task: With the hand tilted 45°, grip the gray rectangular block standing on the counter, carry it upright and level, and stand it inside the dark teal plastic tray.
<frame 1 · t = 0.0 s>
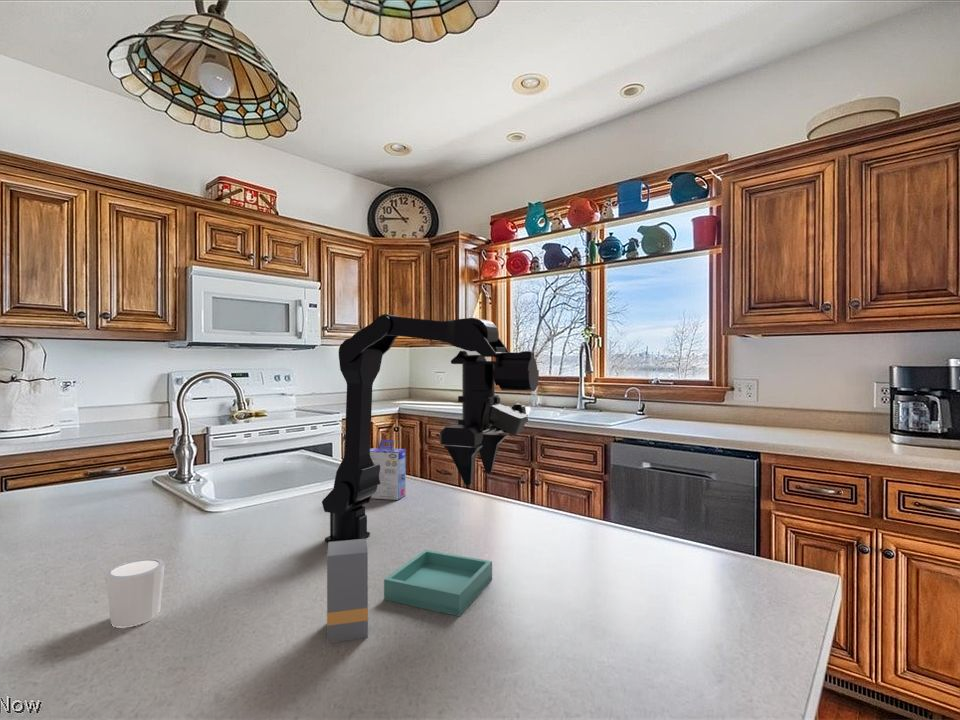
hand: (478, 478, 88), 15 cm above the countertop, tool pointing down, fingers open, 9 cm apart
white cup: (135, 619, 69), on the countertop
tray: (440, 589, 78), on the countertop
gray rectangular block: (347, 629, 66), on the countertop
ink cartridge box: (385, 497, 129), on the countertop
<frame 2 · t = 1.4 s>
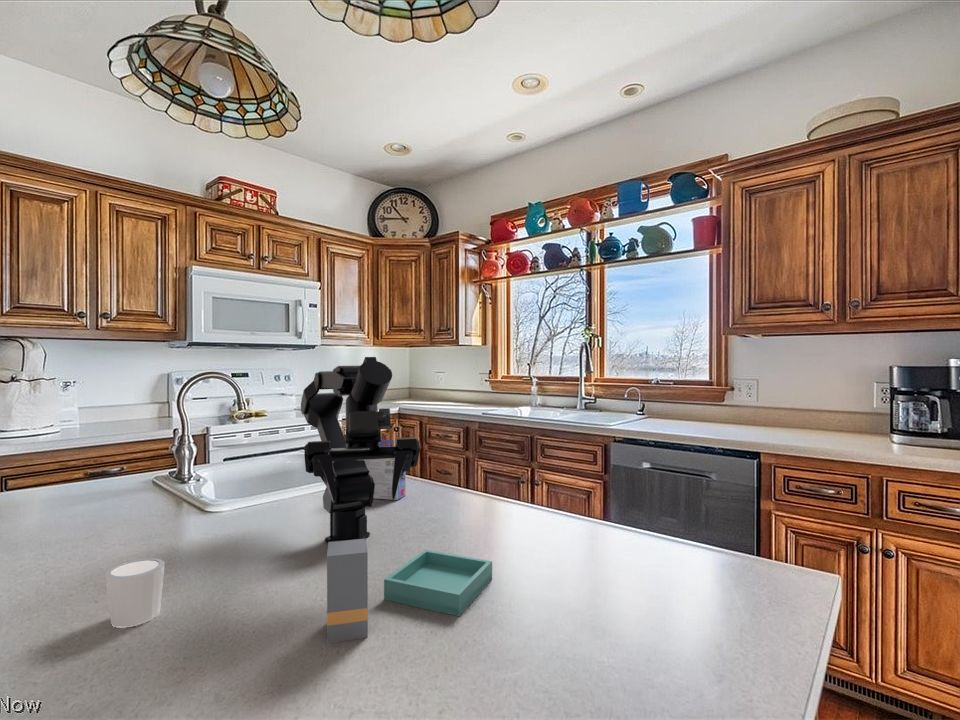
hand: (364, 499, 79), 13 cm above the countertop, tool tilted 45°, fingers open, 9 cm apart
nothing on the countertop moved.
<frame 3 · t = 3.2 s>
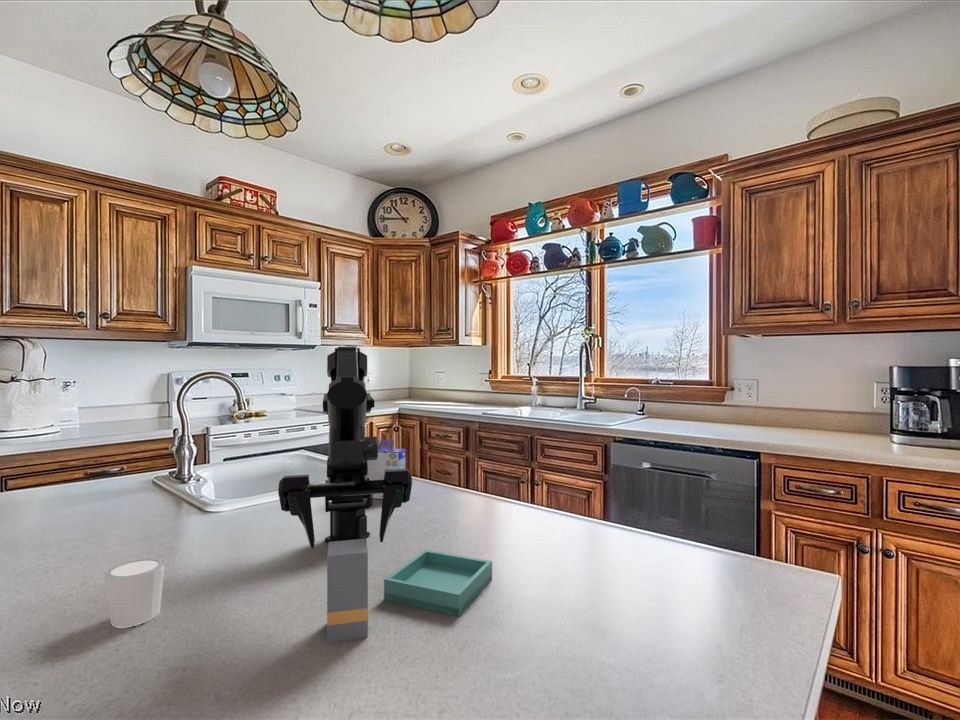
hand: (347, 544, 69), 10 cm above the countertop, tool tilted 45°, fingers open, 9 cm apart
nothing on the countertop moved.
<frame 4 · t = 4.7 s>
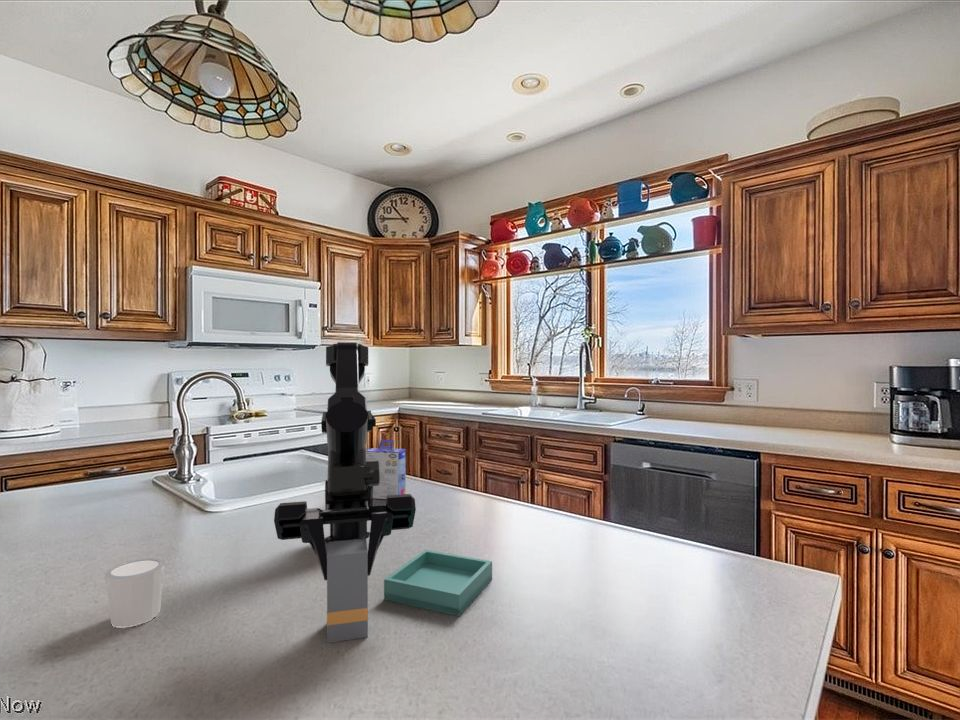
hand: (347, 576, 65), 8 cm above the countertop, tool tilted 45°, fingers closed on gray rectangular block, 5 cm apart
gray rectangular block: (347, 629, 66), on the countertop, touching gripper
everything else where it was.
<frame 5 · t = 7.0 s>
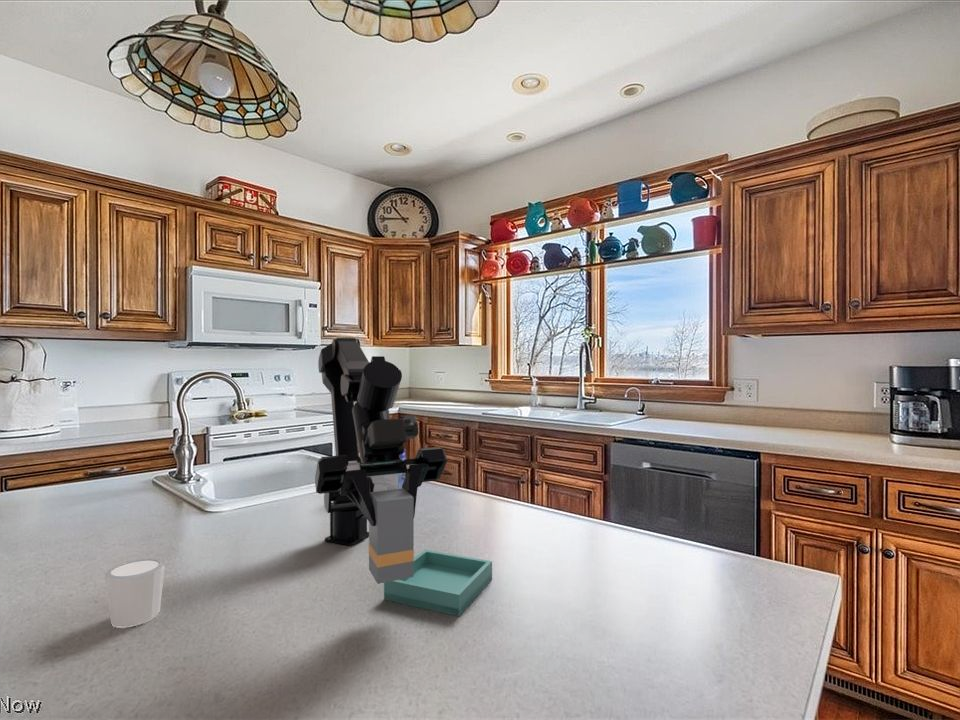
hand: (393, 521, 69), 13 cm above the countertop, tool tilted 45°, fingers closed on gray rectangular block, 5 cm apart
gray rectangular block: (390, 572, 70), point 6 cm above the countertop, touching gripper
everything else where it was.
when the fingers open (10 cm above the countertop, at t = 9.1 s): gray rectangular block drops 1 cm, resting on tray.
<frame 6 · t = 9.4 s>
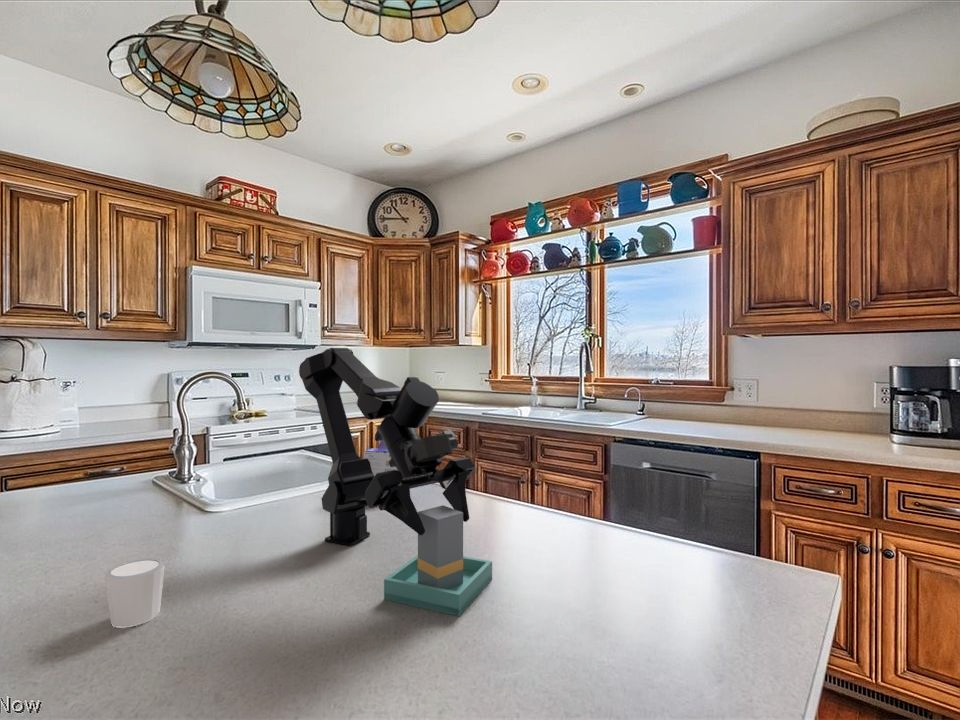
hand: (446, 526, 76), 10 cm above the countertop, tool tilted 45°, fingers open, 8 cm apart
gray rectangular block: (440, 582, 78), point 1 cm above the countertop, touching tray
everything else where it was.
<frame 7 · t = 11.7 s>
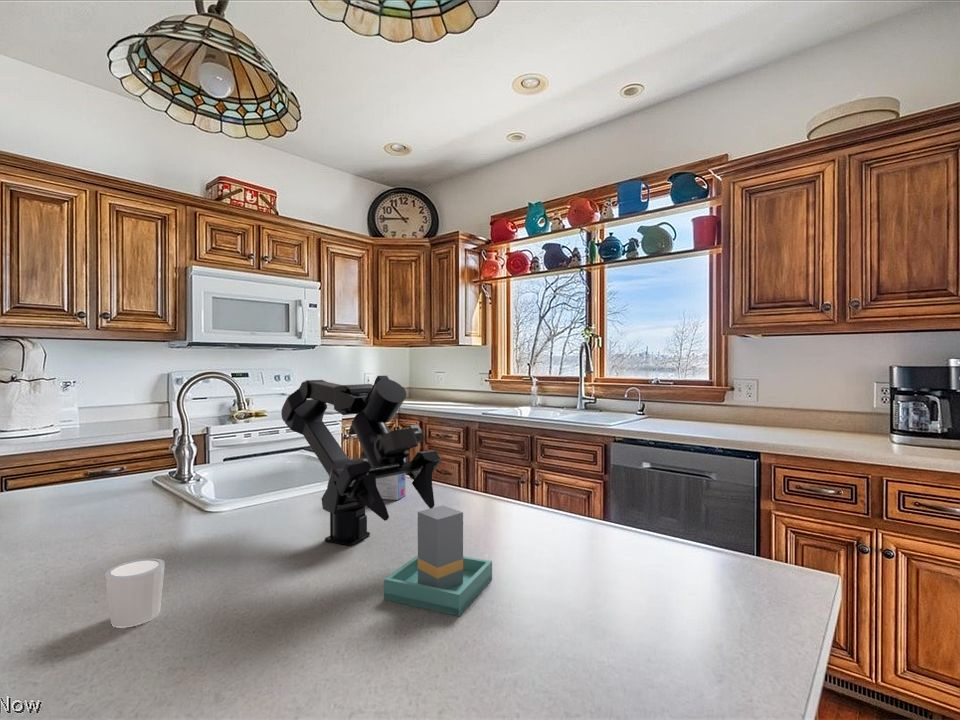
hand: (410, 513, 83), 10 cm above the countertop, tool tilted 45°, fingers open, 9 cm apart
nothing on the countertop moved.
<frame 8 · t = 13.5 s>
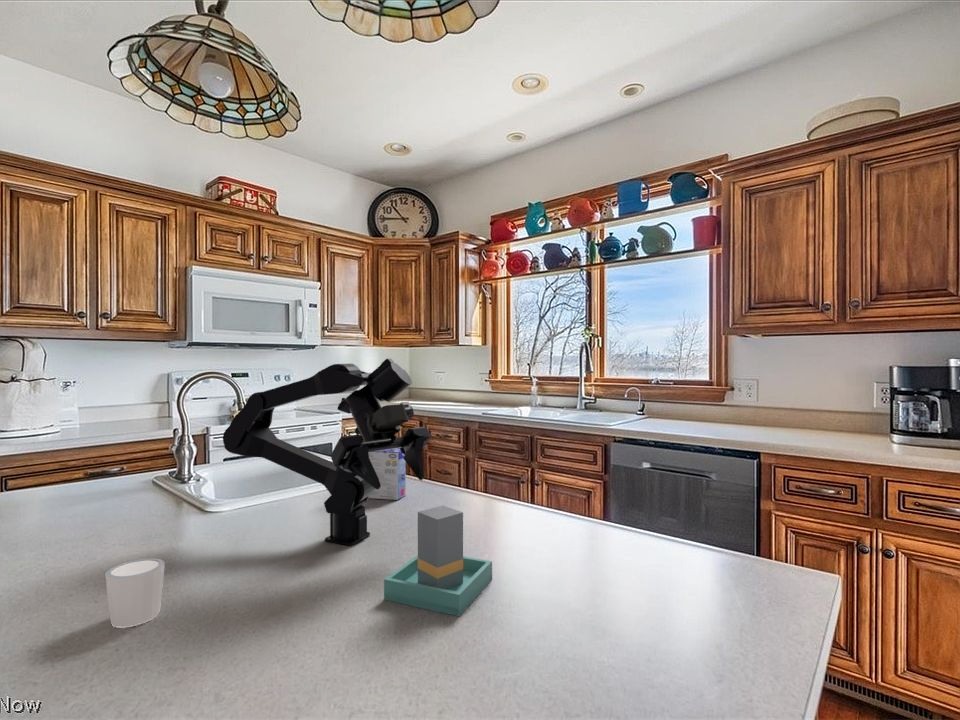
hand: (401, 483, 89), 14 cm above the countertop, tool tilted 45°, fingers open, 9 cm apart
nothing on the countertop moved.
at the end: gray rectangular block inside the target area on the tray (0.0 cm from its centre), point 1.0 cm above the tray's base; gray rectangular block tilted 0°; the gripper is holding nothing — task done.
